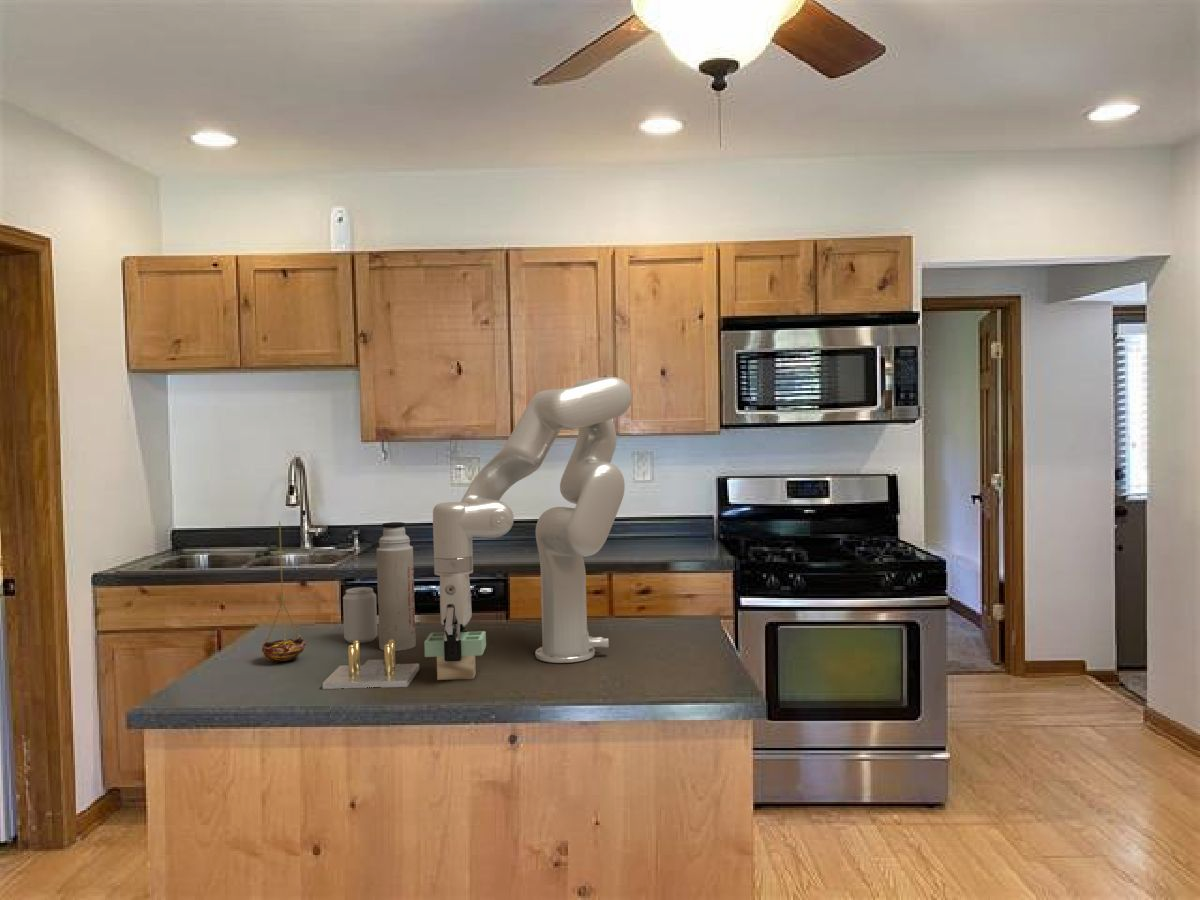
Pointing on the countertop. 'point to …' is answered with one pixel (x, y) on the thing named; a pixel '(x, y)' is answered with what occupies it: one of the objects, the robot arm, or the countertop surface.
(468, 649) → the board
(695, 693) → the countertop surface
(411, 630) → the thermos bottle
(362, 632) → the can
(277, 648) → the bird feeder
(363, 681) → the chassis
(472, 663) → the block
